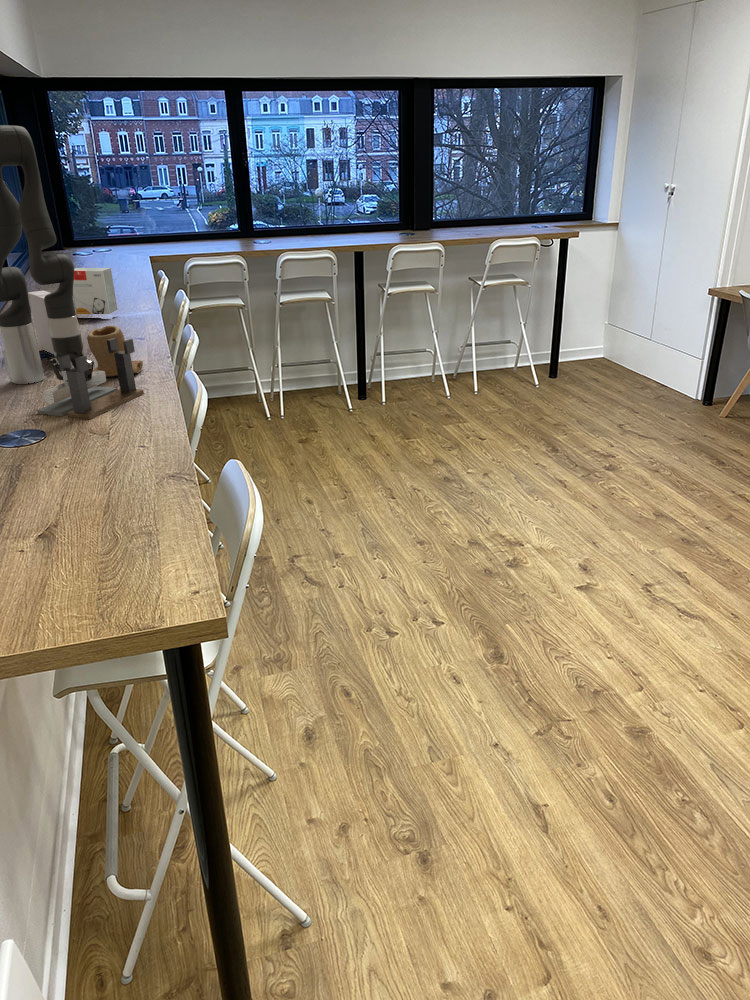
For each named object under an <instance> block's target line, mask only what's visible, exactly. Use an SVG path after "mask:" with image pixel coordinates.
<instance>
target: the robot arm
mask: <svg viewBox="0 0 750 1000" xmlns="http://www.w3.org/2000/svg"><path fill="white" fill-rule="evenodd" d="M12 166H13V167H16V166H20V167H21V169H22V170H23V175H24V186H23V191H22V194H21V199H20V202H19V201H18V200H17V199H16V198H15V196H14V194H13V193H12V192H11V190H10V189H9V188H8V186H7V184H6V181H4V177H3V167H12ZM23 232H24V236H25V238H26V242H27V247H28V254H29V255H28V256H29V273H30V276H31V278H32V279H33V281H34V282H35V283H37V284H38V285H40V286H47V285H54V284H56V285H57V284H58V288H57V289H56V290H55V291H52V292H50V294H48V295H46V296H45V297H44V303H45V307H46V312H47V317H48V326H49V331H50V336H51V340H52V345H53V350H54V352H55V353H56V356H55V357H54V358H51V359H49V360H48V363H49V365H50V367H51V369H52V371H53V372H54V374H55V376H56V379H57V381H58V380H59V381H63V383H65V382H68V378H67V374H66V371H68V370H71V369H74V368H76V369H77V366H76V361H75V359H76V358H79V357H81V356H84V355H85V354H84V355H83V353H82V350H84V343H83V340H82V335H81V330H80V324H79V321H78V319H77V317H76V315H77V314H76V313H75V310H76V309H75V308H74V305H75V303H73V300H74V298H73V283H74V269H75V266H74V263H73V260H72V259H71V258H70V257H69V256H68V255H67V254H64V253H58V254H57V253H56V254H50V255H43V254H42V253H43V252H42V250H43V251H44V250H45V249H49V248H50V247H53V246H55V244H56V243H57V235H56V233H55V230H54V227H53V223H52V221H51V217H50V215H49V212H48V207H47V205H46V200H45V196H44V190H43V185H42V180H41V174H40V169H39V164H38V160H37V155H36V151H35V146H34V143H33V139H32V137H31V134H30V133H29V131H28V130H27V129H26V128H25V127H24V126H20V125H12V124H11V125H6V124H3V125H2V124H0V303H4V302H10V301H11V304H10V305H9V307H8V308H7V309H6V310H4V311H3V312H1V313H0V335H1V340H2V344H3V348H4V349H3V351H2V355H3V359H4V363H5V367H6V372H7V375H8V379H9V382H11V383H13V384H17V385H27V384H28V383H29V384H34V382H35V383H39V382H41V381H43V380H45V377H46V376H45V374H44V368H43V363H42V359H41V354H40V350H39V346H38V345H39V344H38V342H37V341H38V339H37V335H36V332H35V326H34V322H33V317H32V310H31V306H30V301H29V297H28V291H29V290H28V287H27V281H26V278H25V276H24V275H25V274H24V273H23V272H22V270H21V269H20V267H17V266H6V267H4V264H5V262H6V260H7V258H8V256H9V255H10V254H11V252H12V251H13V250H14V249H15V247H16V246H17V245H18V243H19V241H20V239H21V237H22V235H23ZM63 355H69V356H70V361H71V366H72V368H71V369H68V370H66V371H61V370H60V365H59V361H58V357H61V356H63ZM87 362H88V367H89V370H87V371H84V374H85V379H86V382H87V381H89V380H91V379H92V373H93V370H94V365H95V362H94V360H93V359H92V360H88V359H87Z"/></svg>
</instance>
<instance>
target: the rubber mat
mask: <svg viewBox="0 0 750 1000" xmlns="http://www.w3.org/2000/svg"><path fill="white" fill-rule="evenodd" d="M117 390H118V387H111V386H99V385H97V386H94V387H92V388H90V389H88V394H89V399H90V402H92V401H94V400H97V399H99V398H101V397H103V396H106V395H108V394H110V393H112V392H115V391H117ZM72 410H74V407H73V402H72V398H71V397H68V398H66V399H64V400H61V401H59V402H57V403H49V404H48V405H46V406H43V407H42V408H39V409H37V410H36V411H37V414H38V415H45V414H48V416H54V415H55V416H56V417H64V416H66V415H68V414H67V412H70V411H72Z"/></svg>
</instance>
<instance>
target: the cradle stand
mask: <svg viewBox="0 0 750 1000" xmlns="http://www.w3.org/2000/svg"><path fill="white" fill-rule="evenodd" d="M107 345H108V351H109V353H114V352H116V351H119V349H118V343H117V338H112V339H109V340H107ZM123 345H124V351H119V352H116V353H114V356H115V362H116V368H117V373H118V376H117V378H118V384H119V389H117V391H115V392H112V393H110V394H108V395H106V396H103V397H101V398H99V399H97V400H94V401H92V402H90V399H89V394H88V389H87V384H86V379H85V374H84V371H87V370H89V367H88V362H87V360H88V358H87V355H85V356H81V357H79V358H76V359H75V361H76V366H77V369H76V368H74V369H71V368H72V366H71V361H70V356H69V355H63V356H61V357H58V361H59V365H60V370H61V371H66V370H68V369H71V370H68V371H66V374H67V378H68V383H69V388H70V393H71V398H72V402H73V407H74V410H72V411H70V412H67V414H66V415H67V417H68V418H75V419H84V420H92V419H94V418H96V417H98V416H100V415H102V414H104V413H106V412H108V411H111V410H113V409H115V408H117V407H119V406H121V405H123V404H125V403H128V402H129V401H132V400H133V399H136V398H138V397H140V396H142V395H144V394H145V393H144V389H139V388H137V386H136V380H135V374H134V373H133V368H132V362H131V361H132V357H131V354H133V353H135V351H136V350H135V346H134V339H133V338H128V339H126V340H125V341H123ZM114 407H115V408H114ZM112 408H113V409H112ZM110 409H111V410H110Z"/></svg>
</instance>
